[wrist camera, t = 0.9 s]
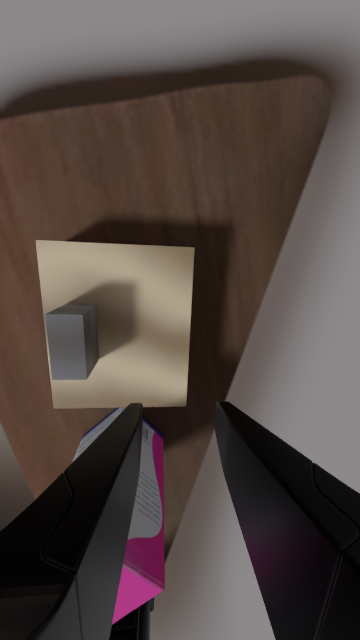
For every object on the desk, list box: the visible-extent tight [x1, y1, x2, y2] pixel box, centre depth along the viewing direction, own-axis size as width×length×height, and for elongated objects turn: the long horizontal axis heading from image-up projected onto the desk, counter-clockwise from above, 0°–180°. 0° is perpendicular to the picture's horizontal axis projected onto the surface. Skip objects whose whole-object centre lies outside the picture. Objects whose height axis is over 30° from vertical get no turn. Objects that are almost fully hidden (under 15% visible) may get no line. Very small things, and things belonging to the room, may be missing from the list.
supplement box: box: [73, 407, 165, 624], centre depth 18 cm, size 6×6×12 cm
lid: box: [36, 240, 194, 409], centre depth 16 cm, size 12×10×4 cm
